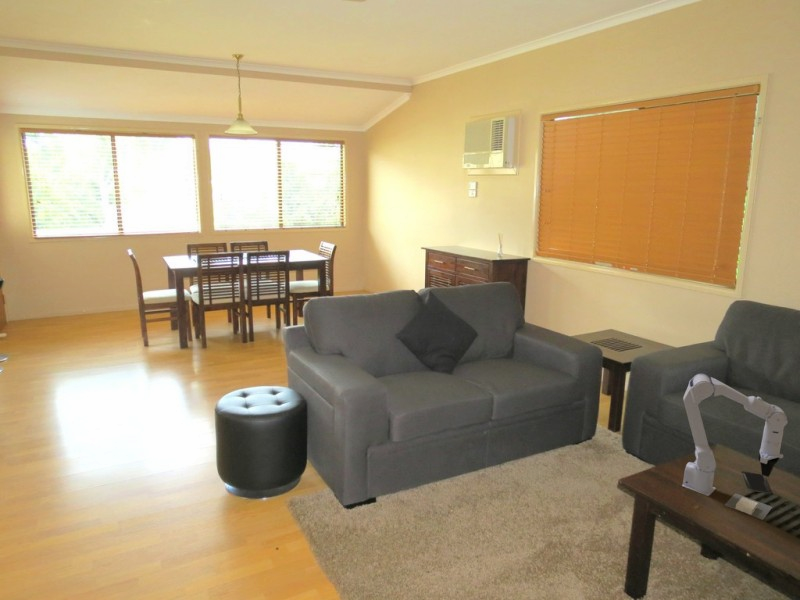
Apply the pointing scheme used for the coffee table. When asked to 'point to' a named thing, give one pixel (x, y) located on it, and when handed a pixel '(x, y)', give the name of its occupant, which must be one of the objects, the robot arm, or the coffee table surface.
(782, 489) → the coffee table surface
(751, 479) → the phone
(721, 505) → the coffee table surface
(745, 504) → the tile
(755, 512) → the mat
